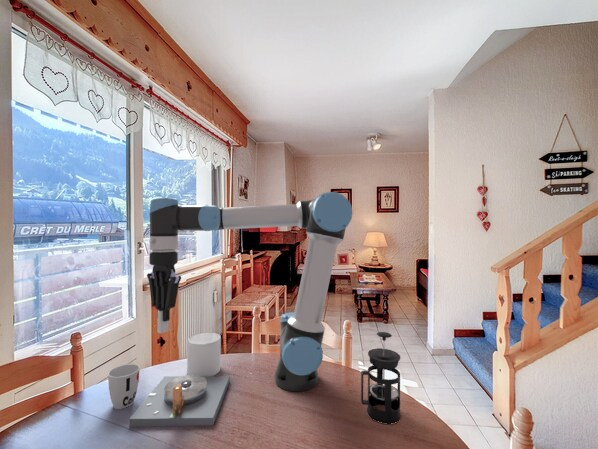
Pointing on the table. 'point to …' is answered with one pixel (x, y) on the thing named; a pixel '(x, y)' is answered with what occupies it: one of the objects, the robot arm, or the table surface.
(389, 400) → the french press
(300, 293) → the robot arm
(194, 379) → the dial
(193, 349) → the cup
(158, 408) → the board
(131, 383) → the cup
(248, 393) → the table surface
